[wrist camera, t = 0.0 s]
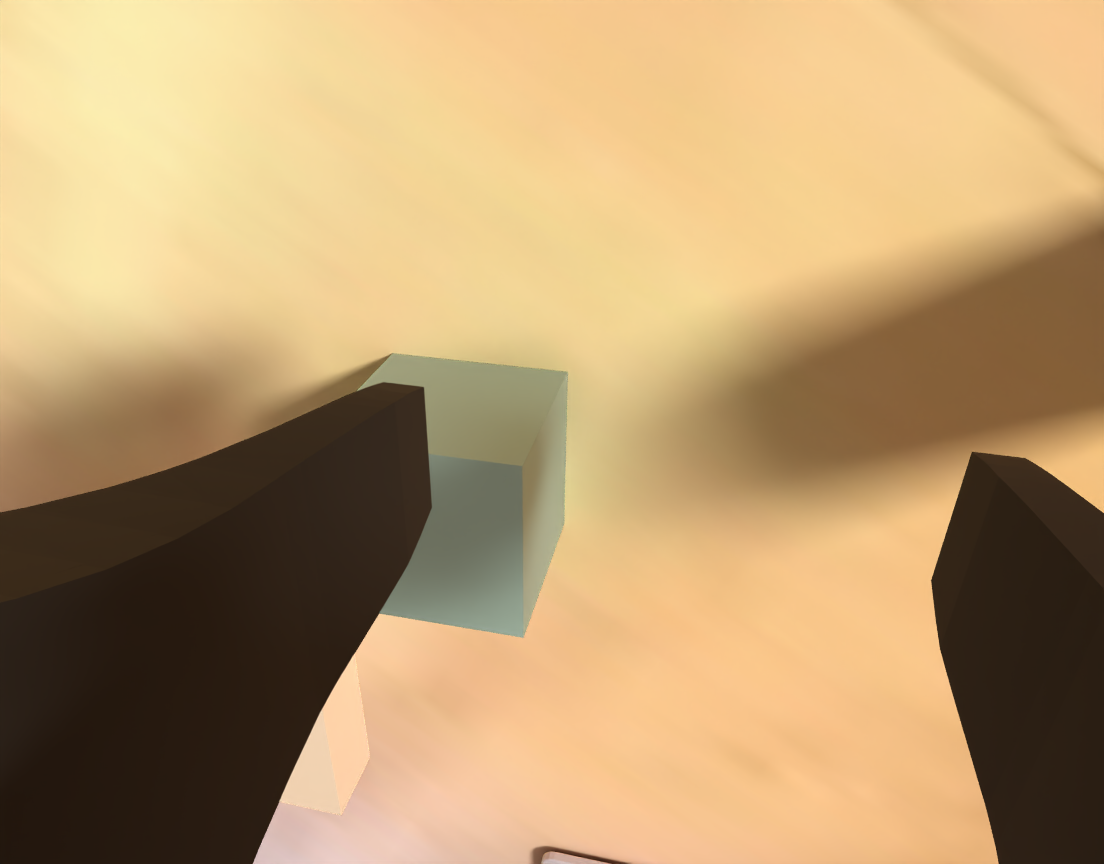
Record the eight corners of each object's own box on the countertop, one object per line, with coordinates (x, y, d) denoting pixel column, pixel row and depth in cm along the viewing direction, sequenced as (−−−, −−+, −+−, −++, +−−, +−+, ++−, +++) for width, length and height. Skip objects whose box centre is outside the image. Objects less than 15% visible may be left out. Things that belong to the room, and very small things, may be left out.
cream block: (374, 748, 32) (341, 815, 30) (149, 703, 34) (100, 762, 32) (346, 546, 28) (303, 605, 25) (85, 505, 29) (21, 557, 27)
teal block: (564, 522, 25) (523, 637, 20) (407, 499, 26) (336, 605, 21) (568, 370, 22) (522, 466, 18) (393, 352, 23) (310, 438, 19)
